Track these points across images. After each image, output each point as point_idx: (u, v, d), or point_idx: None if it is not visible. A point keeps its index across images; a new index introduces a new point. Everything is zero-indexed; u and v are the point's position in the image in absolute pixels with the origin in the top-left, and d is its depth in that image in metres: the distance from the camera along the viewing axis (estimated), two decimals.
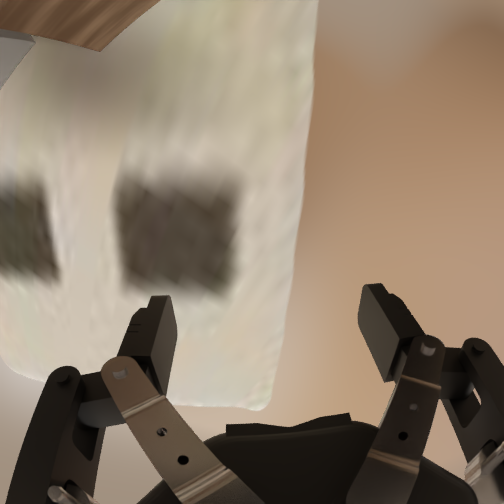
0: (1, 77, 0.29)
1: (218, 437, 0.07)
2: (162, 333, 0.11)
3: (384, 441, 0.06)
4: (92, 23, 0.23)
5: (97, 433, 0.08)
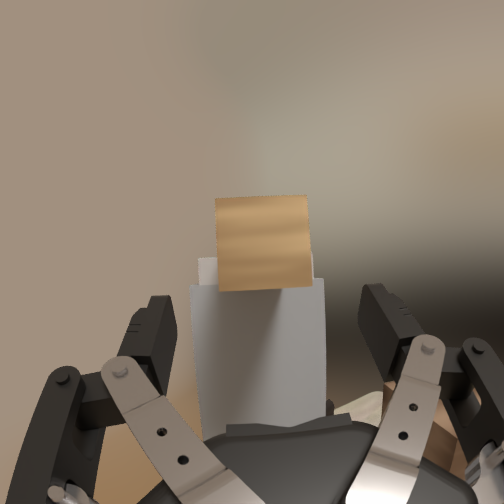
0: None
1: (218, 437, 0.07)
2: (162, 333, 0.11)
3: (384, 441, 0.06)
4: None
5: (97, 433, 0.08)
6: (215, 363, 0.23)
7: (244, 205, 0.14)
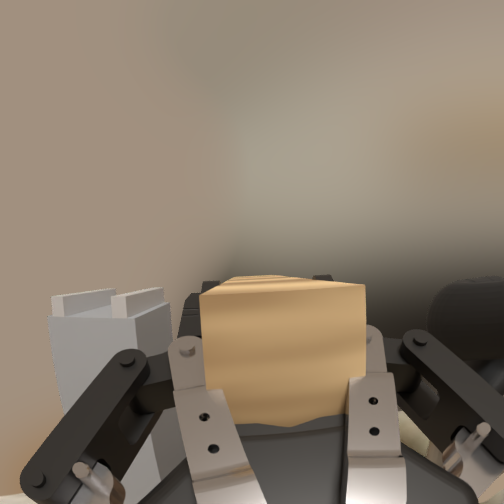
0: None
1: None
2: None
3: (384, 441, 0.06)
4: None
5: (149, 419, 0.09)
6: (66, 374, 0.26)
7: (254, 308, 0.07)
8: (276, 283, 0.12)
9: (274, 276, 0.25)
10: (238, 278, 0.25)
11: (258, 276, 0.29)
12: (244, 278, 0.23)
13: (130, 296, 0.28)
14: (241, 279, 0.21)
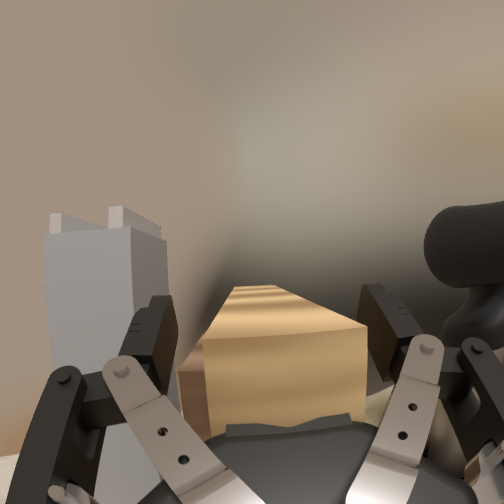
0: (112, 497, 0.25)
1: (218, 437, 0.07)
2: (163, 333, 0.11)
3: (384, 441, 0.06)
4: None
5: (98, 433, 0.08)
6: (56, 294, 0.27)
7: (256, 352, 0.07)
8: (277, 311, 0.12)
9: (274, 289, 0.25)
10: None
11: None
12: (244, 292, 0.23)
13: (127, 209, 0.29)
14: (241, 295, 0.21)
